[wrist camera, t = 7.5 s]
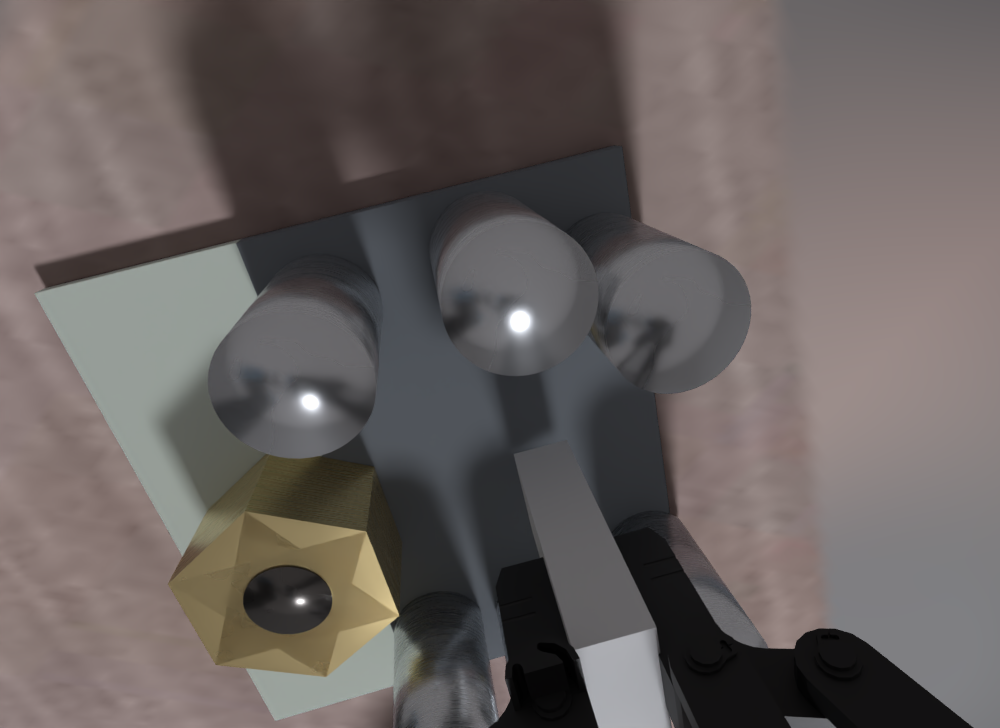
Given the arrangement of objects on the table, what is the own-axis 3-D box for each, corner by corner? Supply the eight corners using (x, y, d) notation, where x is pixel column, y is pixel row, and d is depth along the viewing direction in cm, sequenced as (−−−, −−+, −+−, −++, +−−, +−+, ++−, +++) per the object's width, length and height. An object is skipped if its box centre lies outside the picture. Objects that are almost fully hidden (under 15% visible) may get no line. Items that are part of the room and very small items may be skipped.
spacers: (409, 672, 21) (412, 827, 16) (238, 251, 15) (167, 309, 10) (693, 588, 21) (772, 715, 17) (641, 149, 15) (743, 162, 11)
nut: (309, 623, 20) (290, 707, 17) (176, 540, 18) (130, 620, 15) (434, 513, 19) (437, 584, 16) (307, 414, 17) (285, 474, 14)
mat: (278, 708, 21) (274, 723, 21) (45, 288, 15) (32, 294, 14) (674, 591, 22) (681, 603, 22) (614, 145, 16) (621, 146, 15)
